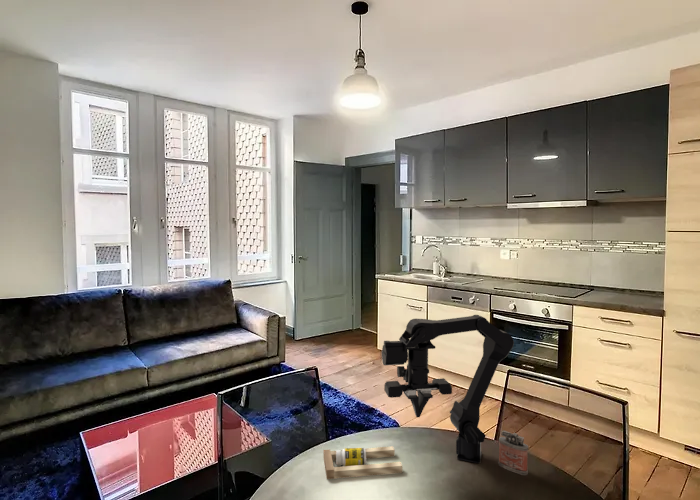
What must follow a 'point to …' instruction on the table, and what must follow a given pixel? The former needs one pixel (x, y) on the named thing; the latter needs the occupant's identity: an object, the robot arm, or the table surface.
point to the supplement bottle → (351, 457)
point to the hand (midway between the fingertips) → (417, 416)
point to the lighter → (513, 453)
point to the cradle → (362, 469)
